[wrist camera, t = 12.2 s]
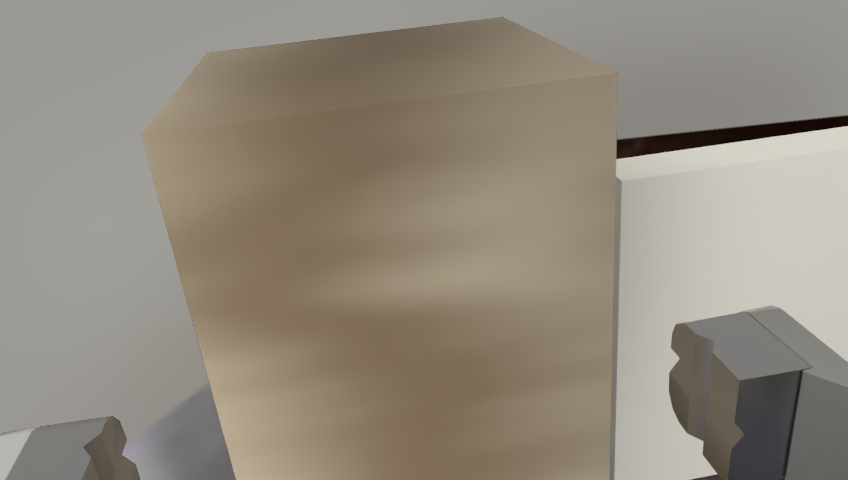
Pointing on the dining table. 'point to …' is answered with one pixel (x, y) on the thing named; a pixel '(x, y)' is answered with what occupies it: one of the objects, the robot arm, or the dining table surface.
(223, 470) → the dining table surface
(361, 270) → the marked block
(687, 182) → the upright white panel
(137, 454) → the dining table surface
